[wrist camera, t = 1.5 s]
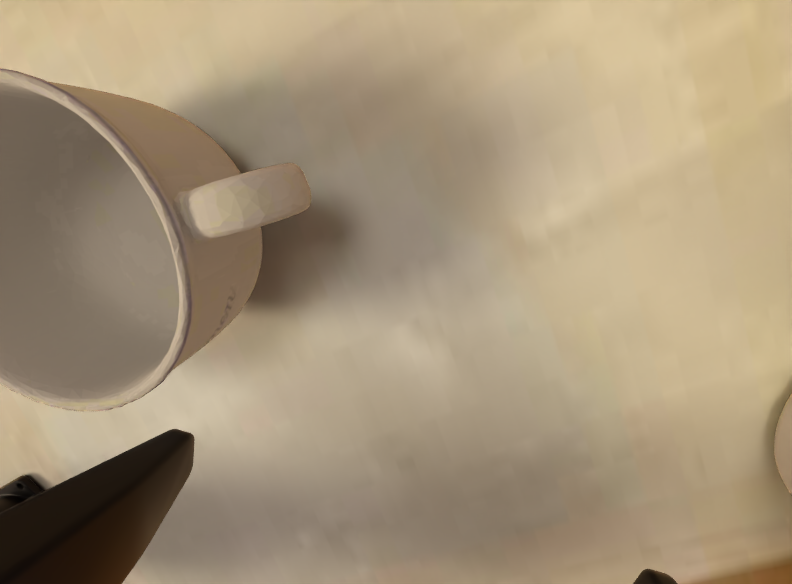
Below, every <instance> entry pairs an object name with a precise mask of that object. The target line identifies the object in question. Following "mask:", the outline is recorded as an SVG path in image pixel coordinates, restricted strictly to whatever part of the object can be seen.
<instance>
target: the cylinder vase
mask: <svg viewBox="0 0 792 584" xmlns="http://www.w3.org/2000/svg"><path fill="white" fill-rule="evenodd" d="M774 451H775V460H776V464H777V468H778V471H779V474H780V476H781V478H782V480H783V482H784V484H785V486H786V488H787V489H788V491H789V492H790V493H791V495H792V394H791V395H790V397H789V399H788V400H787V402H786V404H785V406H784V408H783V410H782V412H781V415H780V417H779V420H778V424H777V427H776V433H775V440H774Z"/></svg>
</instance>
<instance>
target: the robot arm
mask: <svg viewBox="0 0 792 584" xmlns="http://www.w3.org/2000/svg"><path fill="white" fill-rule="evenodd" d="M193 456H194V436H193V434H191V433H188V432H185V431H181V430H178V429H172V430H169V431H167V432H165V433H163V434H161V435H159V436H157V437H155V438H153V439H150V440H148V441H146V442H144V443H142V444H140V445H138V446H136V447H134V448H132V449H130V450H128V451H126V452H124V453H122V454H120V455H118V456H116V457H114V458H111V459H109V460H107V461H105V462H103V463H101V464H99V465H97V466H95V467H93V468H91V469H89V470H87V471H85V472H83V473H81V474H79V475H77V476H75V477H73V478H70V479H68V480H66V481H64V482H62V483H60V484H58V485H56V486H54V487H52V488H50V489H48V490H46V491H44V492H43V491H42V490H41V489H40V488H39V487H38V486H37V485H36V484H35V483H34V482H33V481H31V480H30V479H29V478H28V477H26V476H20V477H19V478H17V479H15V480H13V481H12V482H10V483H8V484H6V485H5V486H3V487H1V488H0V584H122V582H123V581H124V580H125V578H126V577H127V575H128V574H129V573H130V571H131V570H132V569H133V567H134V566H135V564H136V563H137V561H138V560H139V558H140V557H141V556H142V554H143V552H144V551H145V549H146V548H147V546H148V544H149V543H150V541H151V539H152V538H153V536H154V534H155V533H156V531H157V529H158V528H159V526H160V524H161V523H162V521H163V519H164V517H165V516H166V514H167V512H168V511H169V509H170V507H171V506H172V504H173V502H174V501H175V499H176V497H177V495H178V494H179V492H180V490H181V489H182V487H183V485H184V484H185V482H186V480H187V479H188V477H189V475H190V473H191V470H192V467H193ZM633 584H677V583H676V581H675V580H674V579H673V578H672V577H670V576H669V575H667V574H665V573H661V572H658V571H655V570H651V569H646V570H643V571H642V572H641V574H640V575H639V576H638V578H637V579H636V580H635V582H634V583H633Z"/></svg>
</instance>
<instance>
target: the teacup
mask: <svg viewBox="0 0 792 584" xmlns="http://www.w3.org/2000/svg"><path fill="white" fill-rule="evenodd" d="M310 205H311V191H310V187H309V185H308V182H307V180H306V177H305V175H304V173H303V171H302V170H301V169H300V167H299V166H297V165H296V164H294V163H286V164H278V165H274V166H269V167H265V168H261V169H256V170H252V171H249V172H245V173H242V174H241V173H240V171H239V170H238V168H237V167H236V165H235V164H234V162H233V161H232V160H231V159H230V157H229V156H228V155H227V154H226V152H225V151H224V150H223V149H222V148H221V147H220V146H219V145H218V144H217V143H216V142H215V141H214V140H213V139H212V138H211V137H210V136H209V135H207V134H206V133H205V132H203V131H202V130H201V129H199V128H198V127H196V126H195V125H194V124H192V123H191V122H189V121H187V120H186V119H184V118H182V117H180V116H178V115H176V114H174V113H172V112H170V111H168V110H165V109H163V108H161V107H158V106H156V105H153V104H150V103H146V102H143V101H139V100H136V99H132V98H128V97H124V96H120V95H115V94H111V93H107V92H102V91H97V90H92V89H87V88H81V87H76V86H70V85H64V84H58V83H52V82H47V81H45V80H42V79H39V78H36V77H33V76H30V75H27V74H24V73H21V72H17V71H12V70H6V69H0V384H1V385H3V386H5V387H6V388H8V389H10V390H12V391H14V392H17V393H19V394H21V395H23V396H25V397H27V398H29V399H31V400H33V401H36V402H40V403H43V404H46V405H49V406H52V407H58V408H63V409H66V410H74V411H103V410H110V409H113V408H115V407H122V406H123V405H125V404H127V403H130V402H133V401H135V400H137V399H139V398H141V397H143V396H144V395H145V394H147V393H149V392H150V391H152V390H153V389H154V388H156V387H157V386H158V385H159V384H161V383H162V382H163V381H164V380H165V378H166V377H167V375H168V374H169V373H170V372H171V371H172V370H173V369H174V368H176V367H177V366H179V365H180V364H181V363H183V362H184V361H185V360H187V359H188V358H189V357H191V356H192V355H193V354H195V353H196V352H197V351H198V350H200V349H201V348H202V347H203V346H205V345H206V344H207V343H208V342H209V341H211V340H212V339H213V338H214V337H215V336H217V335H218V334H219V333H220V332H221V331H222V330H223V329H224V328H225V327H226V326H227V325H228V324H229V323H230V322H231V321H232V320H233V319H234V318H235V317H236V316H237V315H238V313H239V312H240V311H241V309H242V308H243V306H244V305H245V303H246V302H247V301H248V299H249V297H250V295H251V293H252V291H253V289H254V287H255V284H256V281H257V278H258V275H259V270H260V266H261V260H262V233H261V226H264V225H267V224H270V223H273V222H276V221H279V220H282V219H286V218H288V217H291V216H294V215H296V214H299V213H301V212H303V211H305V210H306V209H307V208H308V207H309V206H310Z"/></svg>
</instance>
